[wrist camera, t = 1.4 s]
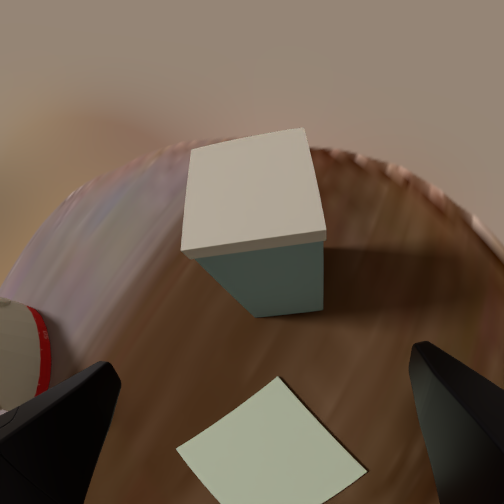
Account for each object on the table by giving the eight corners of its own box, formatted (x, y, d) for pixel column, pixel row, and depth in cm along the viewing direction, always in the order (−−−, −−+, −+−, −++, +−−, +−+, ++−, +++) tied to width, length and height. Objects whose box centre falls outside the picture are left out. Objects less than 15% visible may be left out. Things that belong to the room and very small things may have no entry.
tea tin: (324, 311, 20) (326, 230, 9) (253, 319, 21) (180, 250, 10) (315, 246, 22) (303, 127, 12) (251, 255, 23) (191, 149, 13)
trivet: (366, 470, 14) (366, 471, 14) (256, 536, 13) (255, 538, 13) (278, 376, 19) (277, 376, 19) (176, 448, 18) (175, 448, 18)
